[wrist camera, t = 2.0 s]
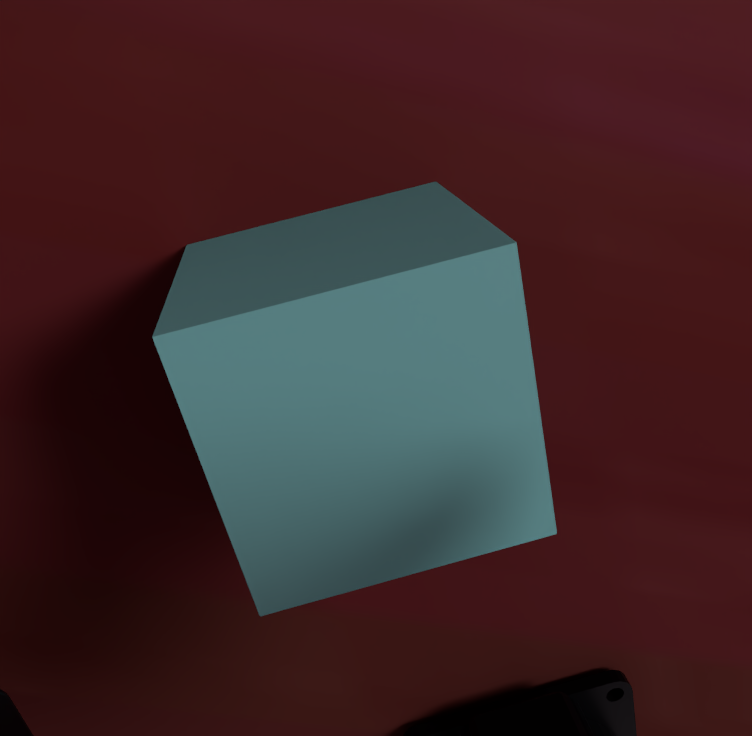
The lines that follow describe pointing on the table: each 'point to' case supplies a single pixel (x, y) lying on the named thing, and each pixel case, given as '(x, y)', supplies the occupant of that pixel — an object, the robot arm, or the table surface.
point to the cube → (360, 393)
